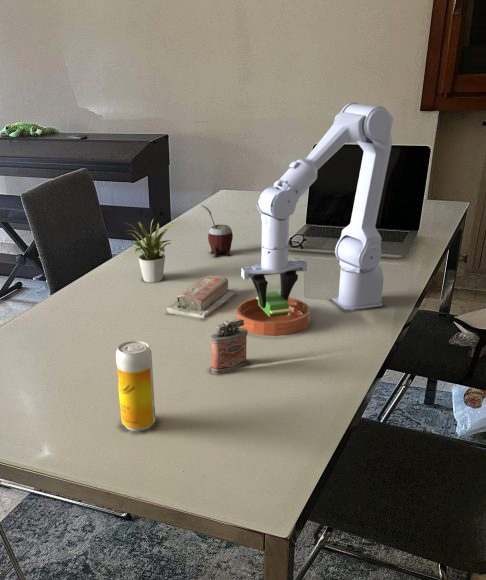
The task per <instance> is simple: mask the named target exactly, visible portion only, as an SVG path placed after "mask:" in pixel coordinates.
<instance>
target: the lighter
mask: <svg viewBox="0 0 486 580" xmlns="http://www.w3.org/2000/svg"><path fill="white" fill-rule="evenodd" d="M215 326H216V327H215V328H216V329H215V330H216V333H214V334H212V335H211V336H210V342H211V367H210V368H211V369H210V370H211V373H212V374H216V375H220V374H225V373H230V372H234V371H237V370H240V369H243V368H245V367H247V365H246V364H247V363H248V360H247V338H248V337H247V336H248V333H249V332H248V330H247V329H245V328H240V326H244V320H243V319H242V318H240V319H237V320H236V319H233V320H231V321H229V320H224V321H223V322H222V323H221V324H217V325H215Z"/></svg>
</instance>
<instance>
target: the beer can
mask: <svg viewBox="0 0 486 580" xmlns="http://www.w3.org/2000/svg"><path fill="white" fill-rule="evenodd" d="M152 355H153V353H152V349H151V348H150V345H149V344H148V343H147V342H145V341H141V340H130V341H125V342H122V343H120V344H119V345H118V346H117V350H116V352H115V362H116V373H117V384H118V385H117V387H118V397H119V407H120V408H119V410H120V421H121V424H122V425H123V426H124V427H125V428H126V429H128V430H130V431H134V432H140V431H141V432H142V431H145V430H148V429H150V428H151V427H152V426H153V424H154V423H155V422H156V405H155V403H156V402H155V388H154V371H153V370H154V369H153V356H152Z"/></svg>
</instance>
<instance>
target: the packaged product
mask: <svg viewBox="0 0 486 580" xmlns="http://www.w3.org/2000/svg"><path fill="white" fill-rule="evenodd" d="M228 288H229V279H228V278H226V277H224V276H220V275H219V276H218V275H210V274H208V275H205V276H203V277H202V278H201V279H199V280H198V281H196V282H195V283H193V284H191V286H189V287H188V288H186V289H185V290H183V291H182V292H180V293H179V294H178V295H177V296H176V301H174V302H173V303H172V304H170V305H168V306H167V307H166V308H167V314H171V315H172V314H173V315H176V314H177V315H182V316H183V315H184V316H189V317H193V318H194V317H195V318H201V319H202V318H203V319H204V318H206V317H207V316H209V314H211V313H212V312H213V311H215V310H216V309H218V307H219V306H221V305H223V304H224V303H225V302H227V300H228V299H230V298H231V297H232V296H234V295H235V294H236V293H237V290H236V289H230V288H229V289H228Z"/></svg>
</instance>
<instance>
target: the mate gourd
mask: <svg viewBox="0 0 486 580" xmlns="http://www.w3.org/2000/svg"><path fill="white" fill-rule="evenodd" d="M200 206H201V207H202V208H204V209H205V210H206V211H207V214H208V215H209V217H210V220H211V224H212V226H211V227H210V228H209V230H208V235H207V241H208V244H209V246H210V250H211V251H210V254H212V255H214V258H218V257H220V256H227V257H230V256H231V253H230V252H231V248H232V244H233V237H234V234H233V230H232V227H231V226H229V225H228V224H216V223H215V222H214V219H213V215H212V211H211V210H210V209H209V208H208V207H207V206H205V205H203V204H200Z"/></svg>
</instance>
